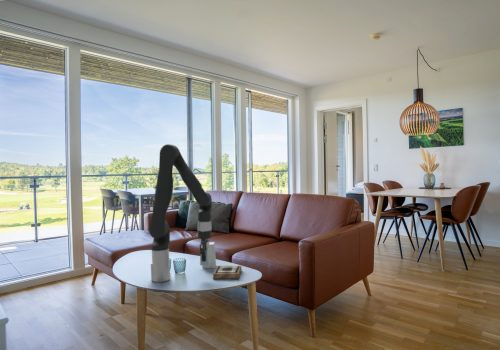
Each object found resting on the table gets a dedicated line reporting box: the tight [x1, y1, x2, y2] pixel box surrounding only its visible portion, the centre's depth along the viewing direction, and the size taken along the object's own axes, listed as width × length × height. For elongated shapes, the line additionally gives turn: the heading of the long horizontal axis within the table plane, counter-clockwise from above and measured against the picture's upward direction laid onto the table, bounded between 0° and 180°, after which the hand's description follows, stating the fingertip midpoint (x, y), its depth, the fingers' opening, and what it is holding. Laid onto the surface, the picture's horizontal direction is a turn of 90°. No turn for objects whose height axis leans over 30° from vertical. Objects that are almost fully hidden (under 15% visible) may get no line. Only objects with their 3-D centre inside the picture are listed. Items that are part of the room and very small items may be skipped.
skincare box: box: [201, 241, 217, 270], centre depth 202 cm, size 8×6×15 cm
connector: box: [199, 246, 209, 266], centre depth 181 cm, size 4×4×10 cm
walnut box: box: [212, 265, 242, 280], centre depth 187 cm, size 14×14×3 cm
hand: (204, 259), depth 181 cm, fingers closed on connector, 4 cm apart
